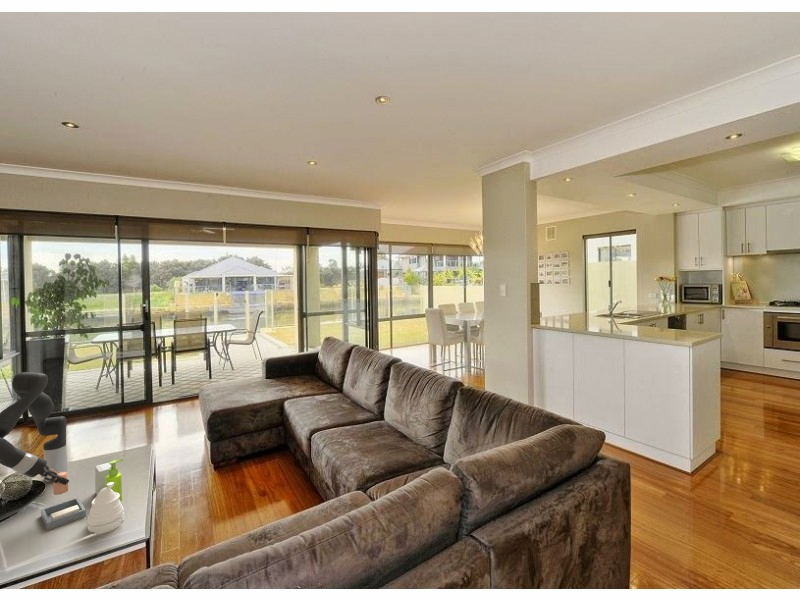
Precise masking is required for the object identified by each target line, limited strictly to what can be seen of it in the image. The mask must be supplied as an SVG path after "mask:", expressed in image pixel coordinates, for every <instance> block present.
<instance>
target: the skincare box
mask: <svg viewBox="0 0 800 600" xmlns="http://www.w3.org/2000/svg"><path fill="white" fill-rule="evenodd" d="M109 463H110V462H106V463H102V464H97V465H95V467H94V468H95V476H94V477H95V478H94V479H95V483H94V484H95V485H94V486H95V489H94V491H95V495H96V496H97V495H98V493H99V492H100V491H101V490H102V489H103V488H106V477H107V476H108V475H109V469H110V468H111V465H110V464H109Z"/></svg>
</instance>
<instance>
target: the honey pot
mask: <svg viewBox="0 0 800 600" xmlns="http://www.w3.org/2000/svg"><path fill="white" fill-rule="evenodd" d="M113 485H114V482H110V483H108V484H107V487H108V488H107V487H106V488H103V489H102V490H101V491H100V492H99V493H98V495H97V494H96V496H95V498H94V499H93V500H92V501H91V508H90V510H89V514H88V516H87V520H86V521H87V522H86V523H87V530H88V531H89V532H91V535H101V534H105V533H108V532H112V531H113V530H116V529H117V528H119V527H120V526H122V524H123V523H124V519H125V512H124V511H125V510H124V509H125V508H124V506H123V504H122V501H120V500H119V497H120V494H119V493H116V492H114V491H113V490H112V489H110V488H112V487H113ZM118 526H119V527H118Z"/></svg>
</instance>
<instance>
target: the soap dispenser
mask: <svg viewBox="0 0 800 600" xmlns="http://www.w3.org/2000/svg"><path fill="white" fill-rule="evenodd" d="M123 460H124V459H122V458H118V459H117V458H116V459H114V460H112V461H110V462H108V463H109V464H110V465H111V468H110V469H109V475H108V476H107V477H106V487H107V484H108V483H110V482H114V485H113V487H112V488H110V489H112V490H113V491H114V492H116V493H119V494H120V497H119V500H120V501H121V502H122V500H123V491H122V490H123V489H122V488H123V487H122V473H121V472H119V468H118V466H116V463H119V462H121V461H123ZM107 488H108V487H107Z"/></svg>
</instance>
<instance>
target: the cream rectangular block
mask: <svg viewBox="0 0 800 600" xmlns="http://www.w3.org/2000/svg"><path fill="white" fill-rule="evenodd" d="M77 511H79V507H78V505H75V506H72V507H69V508H67V509H64V510H61V511H58V512H55V513H52V514H51V521H52V520H55V519H58V518H60V517H63V516H66V515H69V514H72V513H74V512H77Z"/></svg>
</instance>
